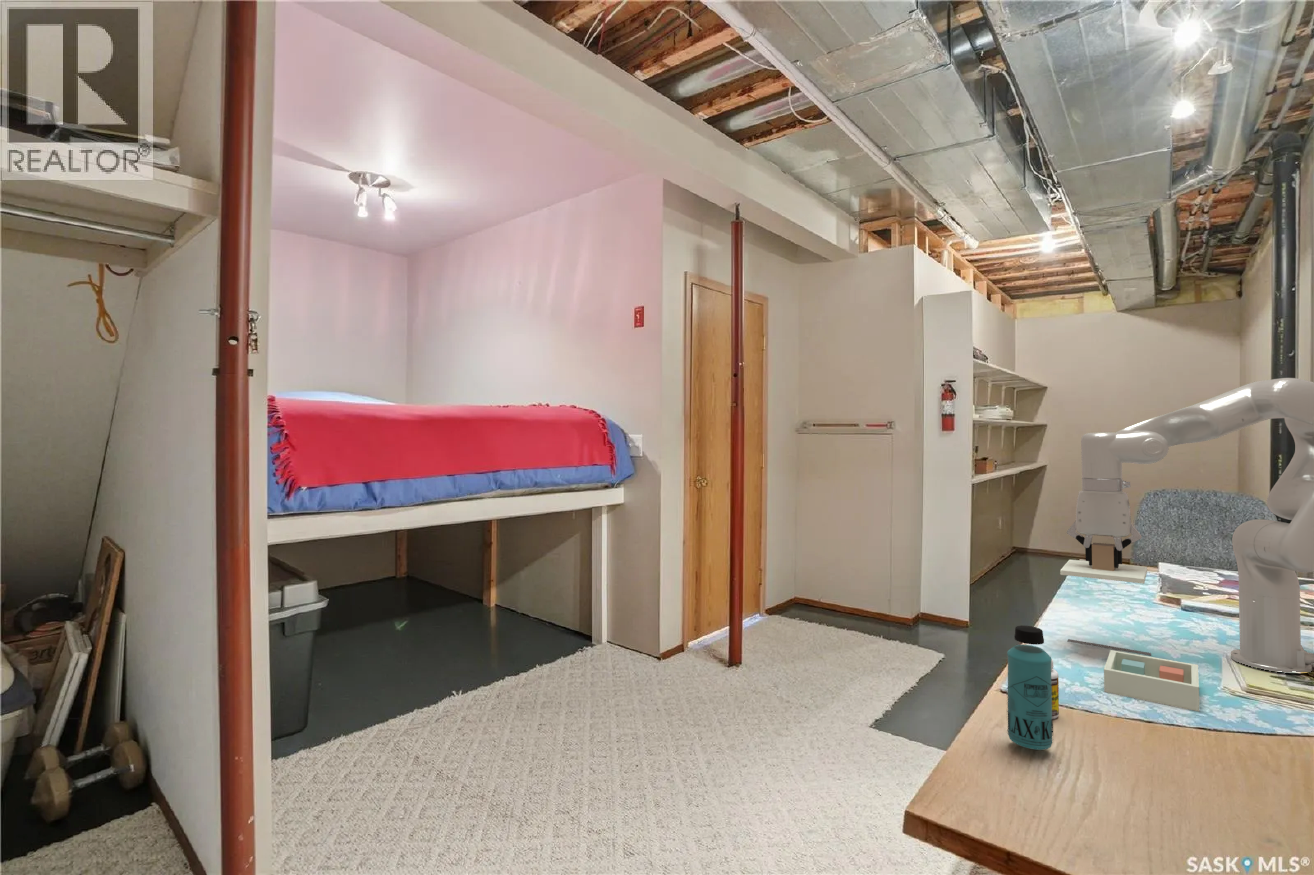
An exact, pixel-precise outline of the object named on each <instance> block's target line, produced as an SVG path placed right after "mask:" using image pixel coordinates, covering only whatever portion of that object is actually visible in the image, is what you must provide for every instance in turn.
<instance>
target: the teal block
mask: <svg viewBox="0 0 1314 875" xmlns="http://www.w3.org/2000/svg"><path fill="white" fill-rule="evenodd" d="M1121 668H1122V671H1124V672H1129V673H1135V674H1140V675H1145V663H1143V662H1138V661H1132V660H1127V659H1123V660H1122V664H1121Z"/></svg>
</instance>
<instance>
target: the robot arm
mask: <svg viewBox="0 0 1314 875" xmlns="http://www.w3.org/2000/svg"><path fill="white" fill-rule="evenodd" d="M1271 419H1284V423H1285V426H1286V428H1287V429H1288V431H1289V432H1290V434H1291V436H1292V438H1293V440H1294V445H1295V450H1294V454H1293V456H1292V458H1291V460H1290V462H1289V463H1288V465H1287V466H1286V468H1285V469H1284V471H1283V472H1282V474H1281V475H1280V477H1279V478H1278V479H1277V481H1276V482H1275V484H1274V485H1273V486H1272V488H1271V489H1270V491H1269V493H1268V495H1267V499H1266V506H1267V508H1268V510H1269V511H1270V512H1271V513H1272V514H1274V515H1275V516H1277V517H1279V518H1281V519H1285V520H1289V521H1290V523H1287V522H1283V521H1278V520H1277V521H1276V520H1272V519H1262V518H1261V519H1259V518H1258V519H1257V518H1256V519H1250V520H1248V521H1247V520H1246V521H1244V522H1243V523H1241V524H1240V525H1238V526H1237V527H1236V528H1235V529H1234V531H1233V534H1232V539H1231V544H1232V549H1233V554H1234V556H1235V562H1236V566H1237V576H1238V614H1239V615H1238V617H1239V618H1238V620H1239V621H1238V622H1239V623H1238V624H1239V649H1234V650H1232V651H1230V658H1231V659H1232V660H1233V661H1235V662H1236V663H1238V662H1239V664H1241V663H1242V664H1241V665H1243V664H1245V665H1244V666H1246V665H1248V666H1247V667H1249V666H1251V667H1250V668H1253V667H1257V668H1261V669H1264V670H1263V671H1265V670H1269V671H1268V672H1271V671H1282V672H1292V671H1296V672H1310V673H1312V672H1313V666H1312V664H1314V652H1308V651H1307V650H1304V647H1303V646H1302V643H1301V642H1302V638H1301V637H1302V636H1301V632H1302V631H1301V587H1300V586H1301V585H1300V581H1299V578H1298V575H1297V572H1298V573H1312V572H1314V381H1310V380H1307V379H1301V378H1297V377H1281V378H1273V379H1264V380H1257V381H1253V382H1249V383H1247V384H1244V385H1241V386H1239V387H1236V388H1234V389H1231V390H1228V391H1225V392H1224V393H1221V394H1218V395H1216V396H1213V397H1211V398H1208V399H1205V400H1203V401H1200V402H1198V403H1195V404H1192V405H1189V406H1186V407H1185V406H1184V407H1183V408H1179V409H1176V410H1174V411H1170V412H1168V413H1165V414H1161V415H1158V416H1154V417H1152V418H1149V419H1146V420H1143V421H1139V422H1137V423H1136V424H1133V425H1130V426H1126V427H1125V428H1122V429H1120V430H1117V431H1116V432H1112V431H1111V432H1110V431H1109V432H1105V431H1104V432H1102V431H1101V432H1087V433H1084V434H1083V435H1082V436H1081V440H1080V445H1081V446H1080V448H1081V449H1080V450H1081V451H1080V455H1081V490H1078V495H1077V499H1076V507H1075V508H1076V510H1075V521H1073V523H1072V524H1071V526H1070V527H1069V528H1068V529H1067V530H1066V533H1067V535H1068V536H1070V537H1072V538H1074V539H1075V540H1077V541H1078V543H1080V544H1081V545H1082V546H1083V547H1084V548H1085V549H1084V550H1085V555H1084V556H1085V561H1089V565H1090V566H1092V544H1093V543H1092V541H1093V537H1094V536H1099V537H1102V536H1103V537H1113V541H1114V544H1115V550H1114V567H1115V568H1118V567H1119V564H1122V565H1123V550H1125V548H1127V547H1128V546H1129V545H1131V544H1133V543H1135V542H1137V541H1139V540H1142V535H1141V533H1140V532H1139V530H1137V529H1136V527H1135V526H1134V525H1133V523H1132V518H1131V506H1130V501H1129V496H1128V492H1125V491H1123V490H1124V489H1127V488H1129V489H1130V488H1131V481H1127V480H1124V479H1123V463H1126V464H1127V463H1128V464H1137V465H1151V464H1155V463H1158V462H1160V461H1161V460H1163V459H1164V458H1165V457H1167V454H1168V453H1169V450H1170V449H1169V448H1170V447H1173V446H1177V445H1184V444H1193V443H1194V444H1195V443H1203V442H1206V441H1211V440H1215V439H1218V438H1222V437H1224V436H1227V435H1229V434H1232V433H1234V432H1238V431H1240V430H1242V429H1243V430H1244V429H1245V428H1248V427H1251V426H1254V425H1256V424H1259V423H1260V422H1263V421H1267V420H1271ZM1130 534H1131V535H1130ZM1083 535H1085V536H1083ZM1129 535H1130V536H1129ZM1127 536H1129V537H1127ZM1125 537H1127V538H1125ZM1123 538H1125V539H1123ZM1257 668H1256V669H1257ZM1261 669H1260V670H1261ZM1311 671H1312V672H1311Z"/></svg>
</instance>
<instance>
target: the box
mask: <svg viewBox="0 0 1314 875" xmlns="http://www.w3.org/2000/svg"><path fill="white" fill-rule="evenodd" d="M1123 659H1127V660H1132V661H1138V662H1143V663H1145V675H1140V674H1135V673H1129V672H1124V671H1122V668H1121V664H1122V660H1123ZM1160 666H1166V667H1172V668H1177V669H1183V672H1184V683H1183V682H1177V681H1172V680H1167V679H1161V678H1159V670H1160ZM1199 677H1200V676H1199V665H1198V664H1194V663H1191V662H1190V663H1188V662H1183V661H1176V660H1170V659H1168V658H1167V659H1165V658H1161V657H1153V656H1148V655H1142V654H1137V653H1131V652H1125V651H1119V650H1113V649H1110V650H1109V653H1108V657H1107V658H1106V663H1105V665H1104V668H1103V685H1104V686H1103V688H1104V690H1103V692H1104V693H1108V694H1113V695H1118V696H1122V697H1127V698H1131V699H1135V700H1136V699H1137V700H1141V701H1144V702H1145V701H1147V702H1150V703H1155V704H1160V705H1165V706H1168V707H1169V706H1170V707H1176V708H1180V709H1184V710H1189V711H1193V712H1199V713H1200V685H1199V684H1200V682H1199V681H1200V679H1199Z"/></svg>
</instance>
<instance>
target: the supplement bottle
mask: <svg viewBox="0 0 1314 875" xmlns="http://www.w3.org/2000/svg"><path fill="white" fill-rule="evenodd" d="M1054 666H1055V665H1054V660H1053V659H1052V662H1051V685H1052V690H1053V691H1052V706H1053V707H1052V720H1055V719H1057V718H1058V716H1060V701H1059V699H1060V693H1059V692H1060V691H1059V688H1060V687H1059V685H1060V684H1059V682H1060V681H1059V672H1058V671H1057V670H1056V669H1055V668H1054Z"/></svg>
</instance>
